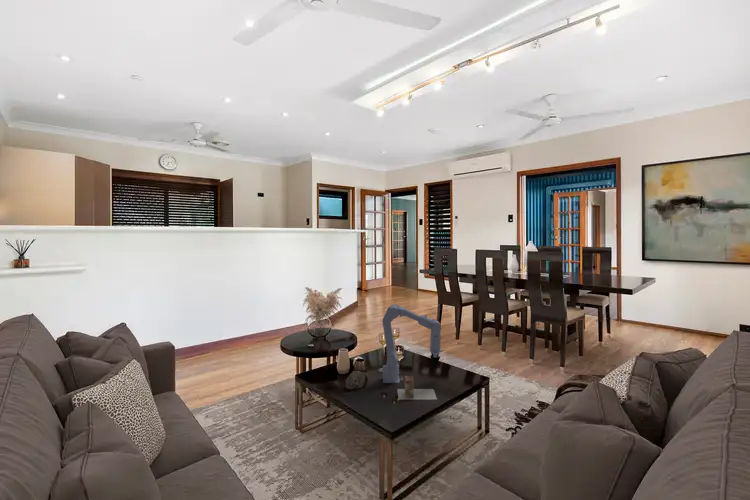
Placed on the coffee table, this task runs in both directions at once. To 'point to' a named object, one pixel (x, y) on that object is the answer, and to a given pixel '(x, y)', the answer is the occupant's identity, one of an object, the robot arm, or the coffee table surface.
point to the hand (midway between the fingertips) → (434, 365)
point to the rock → (355, 380)
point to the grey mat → (418, 394)
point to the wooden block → (409, 387)
